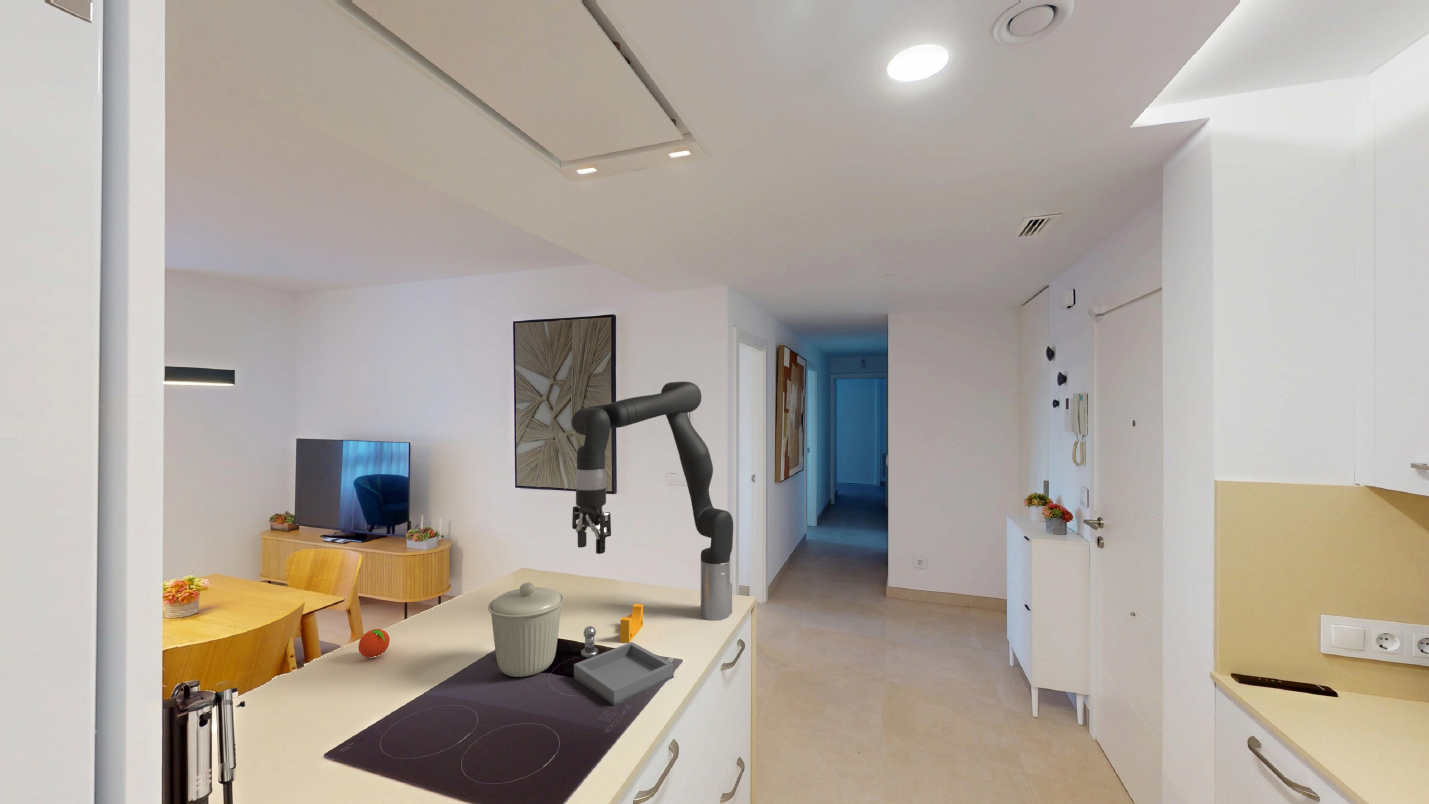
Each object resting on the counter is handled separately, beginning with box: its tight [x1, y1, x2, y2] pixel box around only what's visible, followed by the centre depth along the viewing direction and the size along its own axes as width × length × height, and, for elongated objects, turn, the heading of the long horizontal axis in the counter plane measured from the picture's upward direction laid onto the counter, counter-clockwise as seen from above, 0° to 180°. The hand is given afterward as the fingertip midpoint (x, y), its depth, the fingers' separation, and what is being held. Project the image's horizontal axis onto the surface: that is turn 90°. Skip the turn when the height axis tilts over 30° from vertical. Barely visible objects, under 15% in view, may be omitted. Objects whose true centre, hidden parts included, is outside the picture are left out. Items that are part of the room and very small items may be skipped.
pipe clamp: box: [619, 603, 644, 644], centre depth 153 cm, size 12×4×6 cm, turn 169°
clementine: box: [358, 628, 391, 658], centre depth 139 cm, size 8×7×7 cm
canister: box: [487, 582, 565, 678], centre depth 133 cm, size 18×18×21 cm
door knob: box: [580, 625, 599, 659], centre depth 140 cm, size 4×4×7 cm
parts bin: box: [573, 641, 675, 706], centre depth 128 cm, size 17×17×4 cm
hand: (591, 550), depth 135 cm, fingers open, 8 cm apart
